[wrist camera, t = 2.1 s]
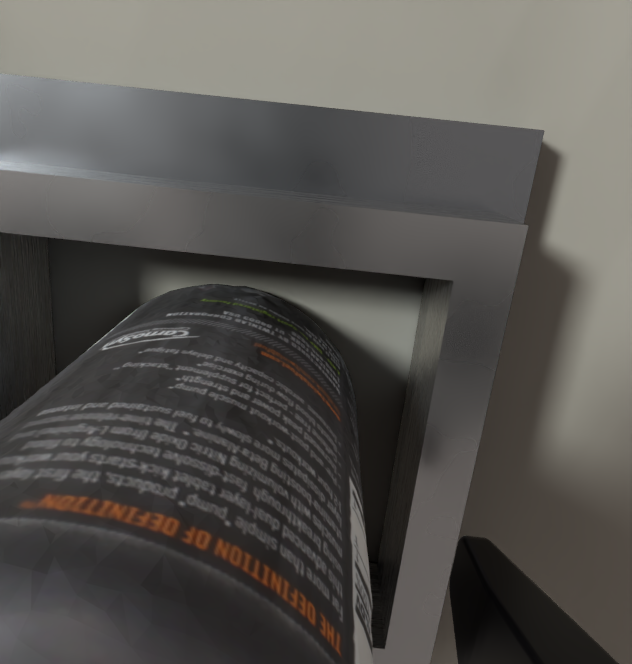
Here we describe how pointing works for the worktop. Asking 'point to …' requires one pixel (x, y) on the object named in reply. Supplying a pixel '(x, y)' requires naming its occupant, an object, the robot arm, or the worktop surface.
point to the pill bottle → (188, 495)
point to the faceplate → (290, 259)
